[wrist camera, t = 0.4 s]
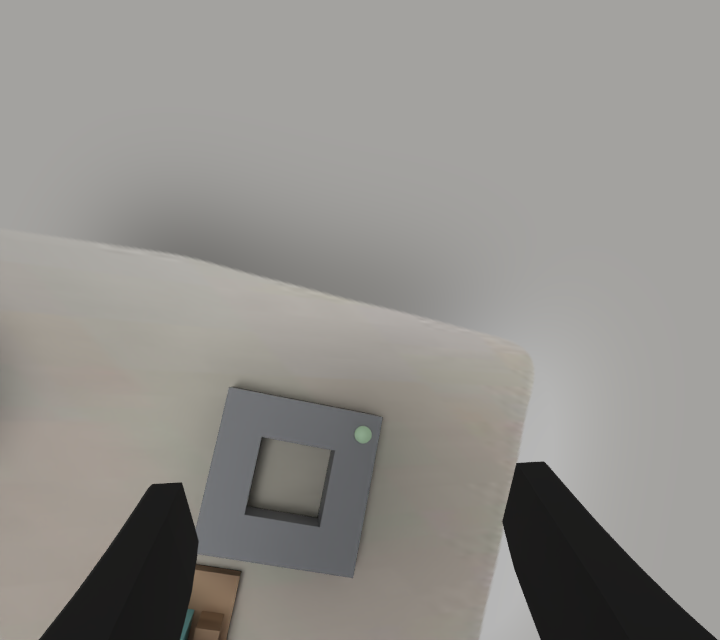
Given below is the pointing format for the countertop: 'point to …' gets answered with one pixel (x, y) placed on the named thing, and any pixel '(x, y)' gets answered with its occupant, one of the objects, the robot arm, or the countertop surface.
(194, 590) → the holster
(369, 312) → the countertop surface
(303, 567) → the port
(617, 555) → the robot arm
